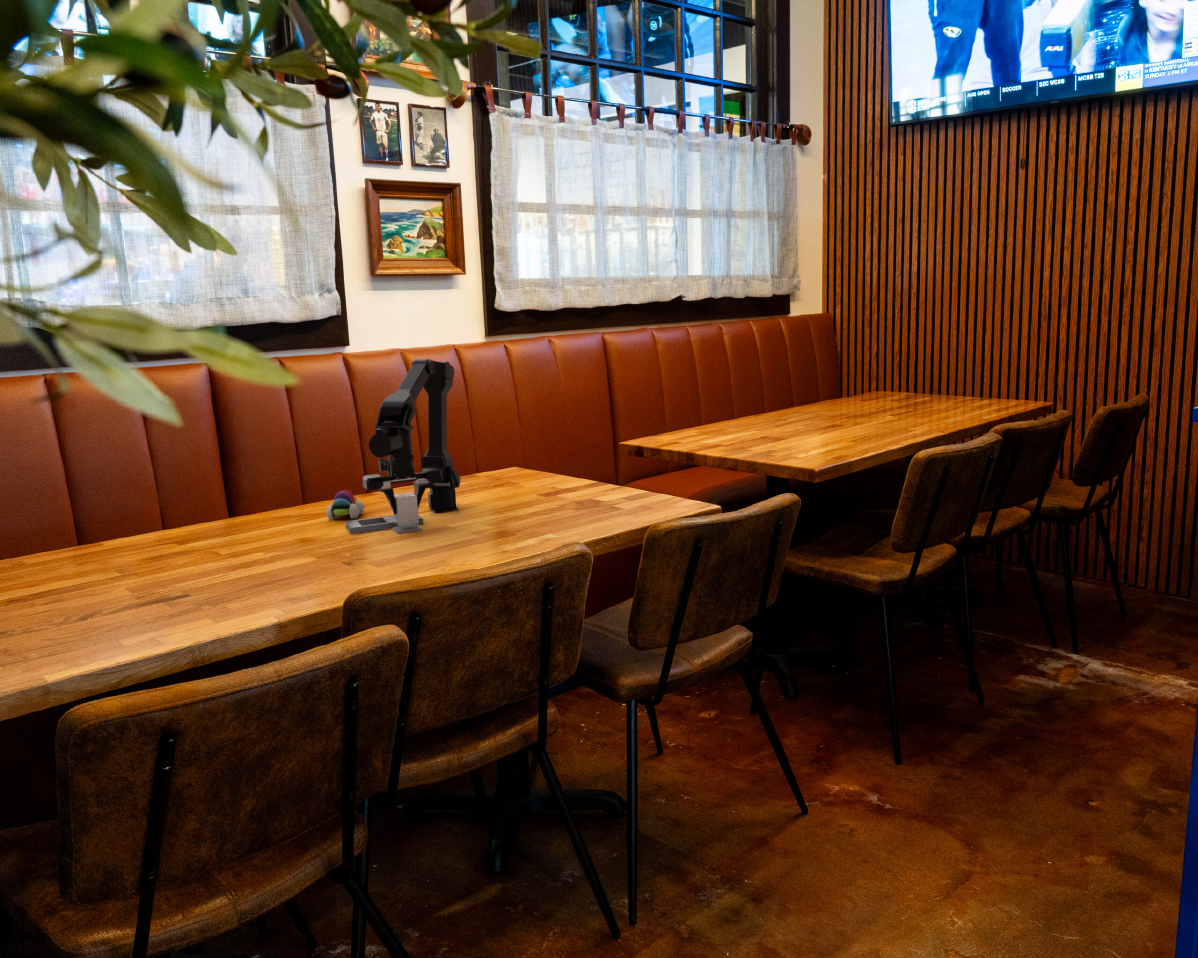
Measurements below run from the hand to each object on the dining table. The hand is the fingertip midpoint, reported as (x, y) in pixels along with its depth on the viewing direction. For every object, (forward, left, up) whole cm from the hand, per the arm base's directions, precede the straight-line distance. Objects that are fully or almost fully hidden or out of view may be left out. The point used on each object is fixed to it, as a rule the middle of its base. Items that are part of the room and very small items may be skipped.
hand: (405, 512), depth 243 cm
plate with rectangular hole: (+4, -7, -4) cm, 10 cm away
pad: (0, 0, -4) cm, 4 cm away
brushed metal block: (0, 0, -2) cm, 3 cm away
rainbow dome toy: (+11, -24, -5) cm, 27 cm away
